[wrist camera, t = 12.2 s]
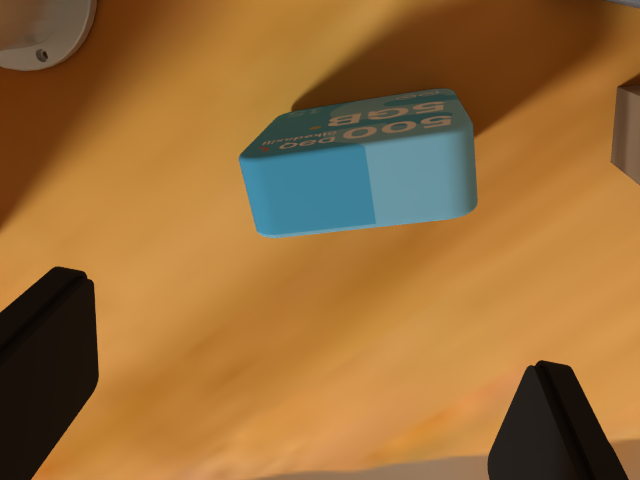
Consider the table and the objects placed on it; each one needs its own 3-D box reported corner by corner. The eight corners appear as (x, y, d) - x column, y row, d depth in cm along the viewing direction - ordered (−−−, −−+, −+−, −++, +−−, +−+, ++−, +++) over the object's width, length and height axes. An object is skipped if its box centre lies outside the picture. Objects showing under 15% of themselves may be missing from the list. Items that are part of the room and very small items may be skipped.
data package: (452, 85, 34) (477, 126, 23) (457, 150, 36) (482, 217, 25) (279, 112, 37) (229, 162, 26) (291, 173, 38) (250, 242, 28)
